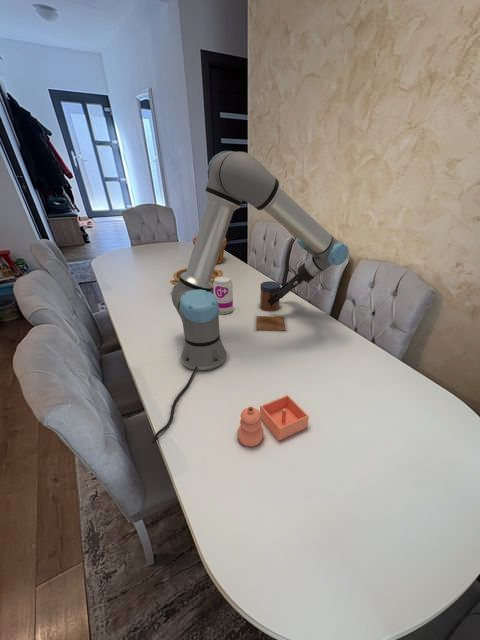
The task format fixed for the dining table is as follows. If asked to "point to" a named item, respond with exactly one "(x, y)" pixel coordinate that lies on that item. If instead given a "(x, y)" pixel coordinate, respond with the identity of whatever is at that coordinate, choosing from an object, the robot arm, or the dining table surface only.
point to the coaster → (270, 323)
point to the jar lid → (270, 286)
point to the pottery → (271, 421)
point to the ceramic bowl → (177, 274)
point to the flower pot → (220, 250)
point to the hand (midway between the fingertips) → (274, 297)
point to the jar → (264, 301)
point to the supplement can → (223, 294)
